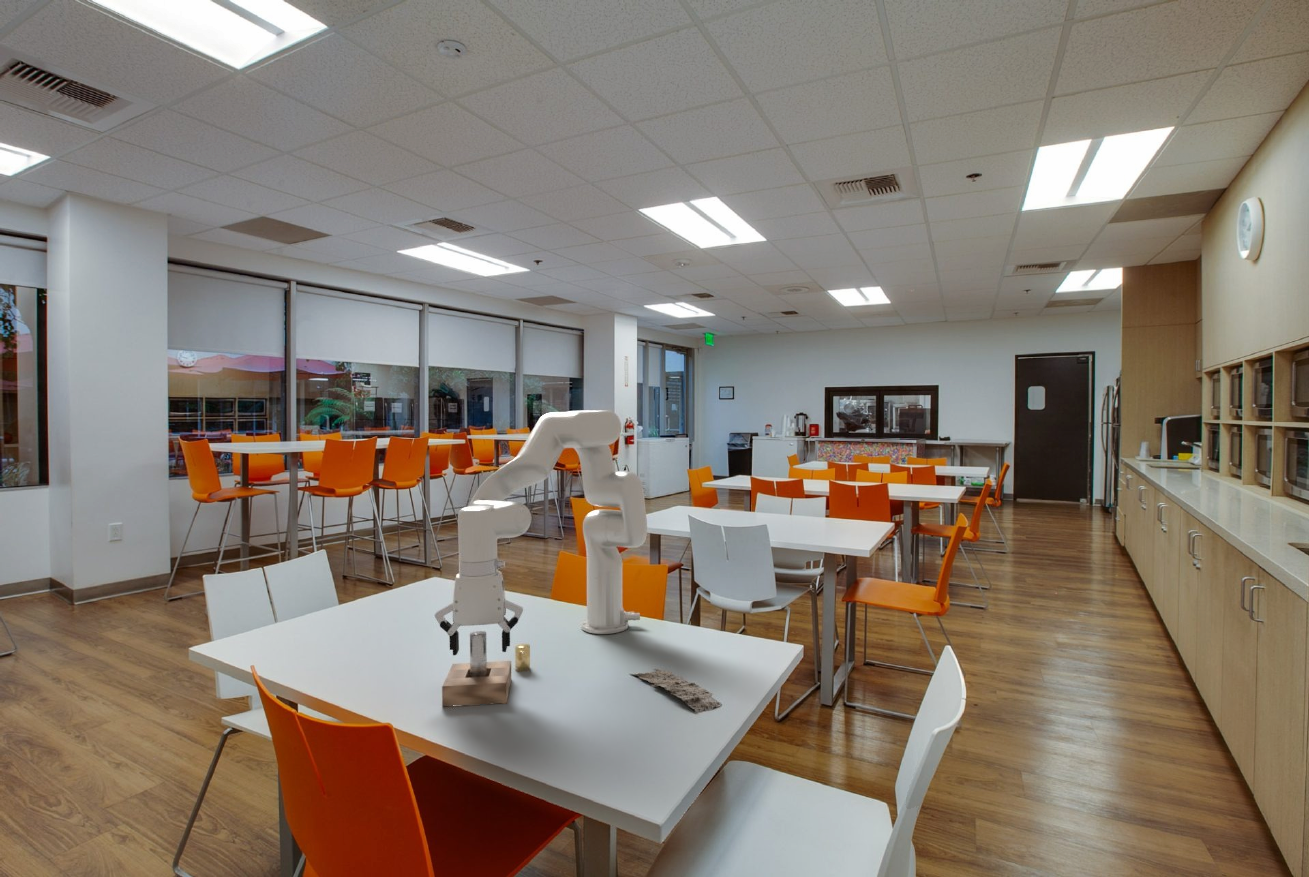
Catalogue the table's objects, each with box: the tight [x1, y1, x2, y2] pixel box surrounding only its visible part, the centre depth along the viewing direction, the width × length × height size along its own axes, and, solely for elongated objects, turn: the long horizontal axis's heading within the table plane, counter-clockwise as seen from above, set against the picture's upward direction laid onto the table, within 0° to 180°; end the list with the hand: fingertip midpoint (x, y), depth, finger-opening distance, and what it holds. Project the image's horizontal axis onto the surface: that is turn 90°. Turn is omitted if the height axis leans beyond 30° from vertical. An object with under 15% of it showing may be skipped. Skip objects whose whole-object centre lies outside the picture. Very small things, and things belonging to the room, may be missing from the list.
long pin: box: [469, 630, 488, 678], centre depth 129 cm, size 3×3×12 cm
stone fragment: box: [629, 668, 723, 714], centre depth 131 cm, size 25×3×10 cm
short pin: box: [514, 643, 531, 672], centre depth 142 cm, size 3×3×5 cm
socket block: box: [441, 660, 512, 706], centre depth 129 cm, size 12×12×4 cm
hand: (480, 651), depth 130 cm, fingers open, 9 cm apart
